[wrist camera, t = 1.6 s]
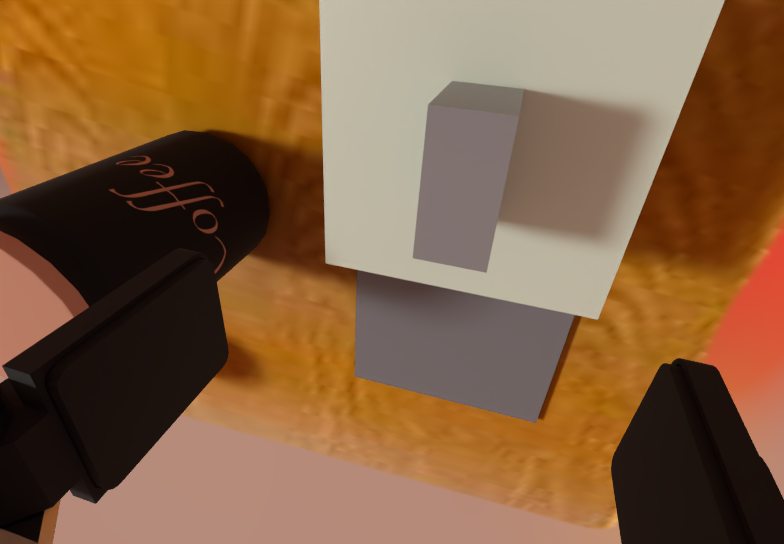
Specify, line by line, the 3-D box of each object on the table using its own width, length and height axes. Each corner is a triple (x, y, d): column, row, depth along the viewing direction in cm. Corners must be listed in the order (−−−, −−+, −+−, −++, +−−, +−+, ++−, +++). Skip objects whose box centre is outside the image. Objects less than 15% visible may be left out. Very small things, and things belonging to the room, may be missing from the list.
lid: (336, -54, 19) (251, -74, 14) (718, -32, 16) (815, -46, 11) (338, 247, 27) (285, 313, 22) (594, 298, 24) (610, 390, 19)
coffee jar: (299, 230, 37) (137, 388, 22) (209, 262, 41) (25, 410, 26) (227, 103, 32) (-31, 193, 18) (136, 154, 37) (-128, 260, 22)
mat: (360, 212, 34) (358, 215, 34) (594, 254, 31) (595, 258, 30) (356, 372, 43) (354, 376, 43) (536, 417, 40) (536, 423, 39)
